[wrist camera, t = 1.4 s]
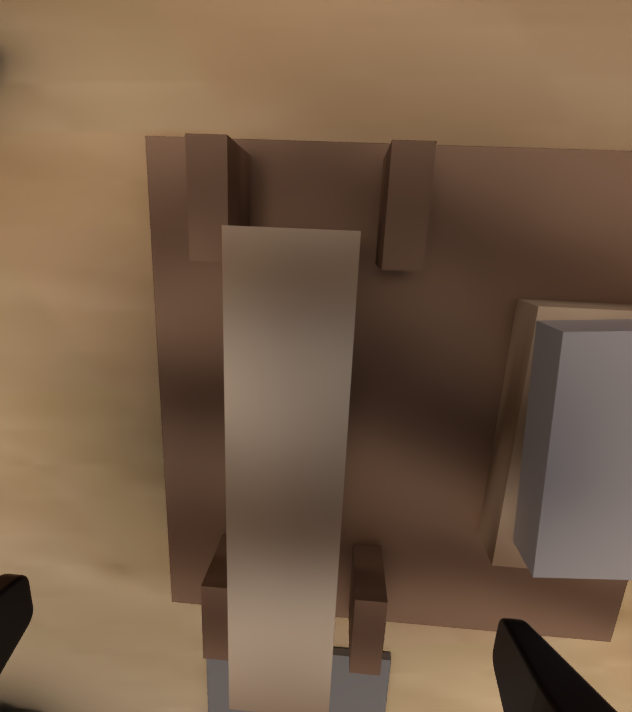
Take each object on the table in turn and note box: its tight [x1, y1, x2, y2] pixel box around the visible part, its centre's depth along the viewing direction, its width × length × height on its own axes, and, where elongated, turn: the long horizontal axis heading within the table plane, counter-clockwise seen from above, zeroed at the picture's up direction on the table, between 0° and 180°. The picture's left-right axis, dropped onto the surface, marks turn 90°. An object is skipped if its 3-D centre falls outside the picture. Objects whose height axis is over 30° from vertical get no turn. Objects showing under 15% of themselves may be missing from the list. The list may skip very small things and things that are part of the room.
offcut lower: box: [478, 299, 632, 568], centre depth 16 cm, size 10×5×2 cm, turn 178°
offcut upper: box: [513, 319, 632, 580], centre depth 14 cm, size 8×4×2 cm, turn 2°
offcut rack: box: [145, 134, 632, 676], centre depth 16 cm, size 20×20×4 cm
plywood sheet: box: [222, 225, 361, 712], centre depth 14 cm, size 14×3×6 cm, turn 178°
